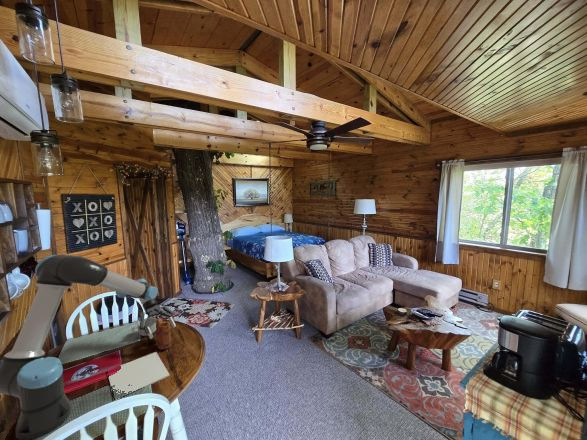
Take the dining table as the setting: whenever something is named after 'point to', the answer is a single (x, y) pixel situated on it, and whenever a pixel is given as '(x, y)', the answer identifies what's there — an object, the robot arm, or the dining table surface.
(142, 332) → the teacup
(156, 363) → the placemat
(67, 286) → the robot arm
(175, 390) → the dining table surface
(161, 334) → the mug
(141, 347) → the dining table surface
